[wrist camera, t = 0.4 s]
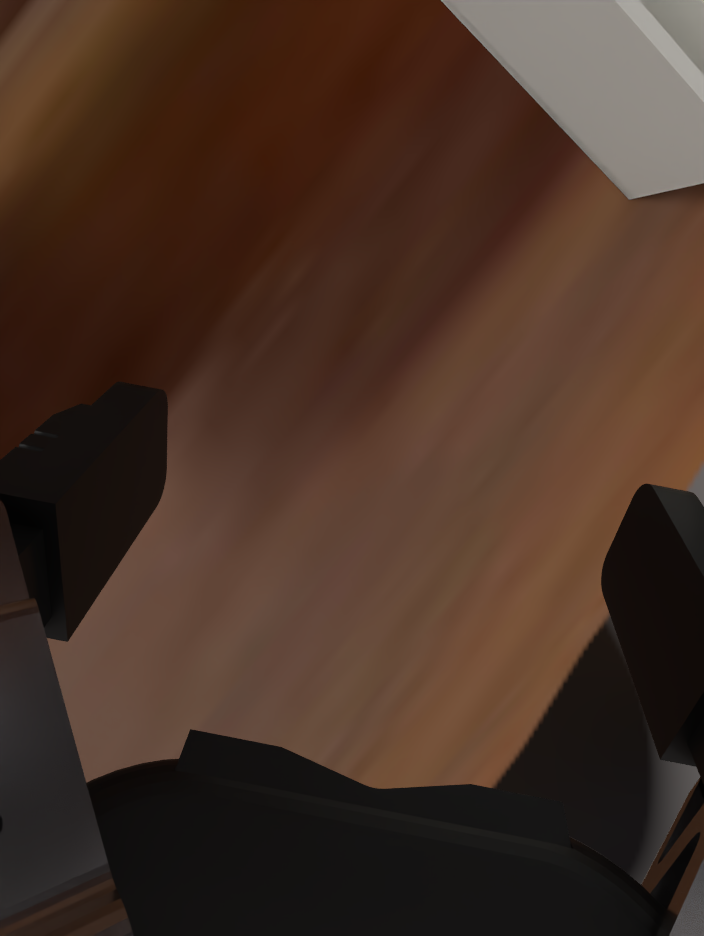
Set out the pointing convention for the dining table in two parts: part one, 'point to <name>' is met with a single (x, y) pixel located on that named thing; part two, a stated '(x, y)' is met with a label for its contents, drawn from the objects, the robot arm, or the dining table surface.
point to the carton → (609, 79)
